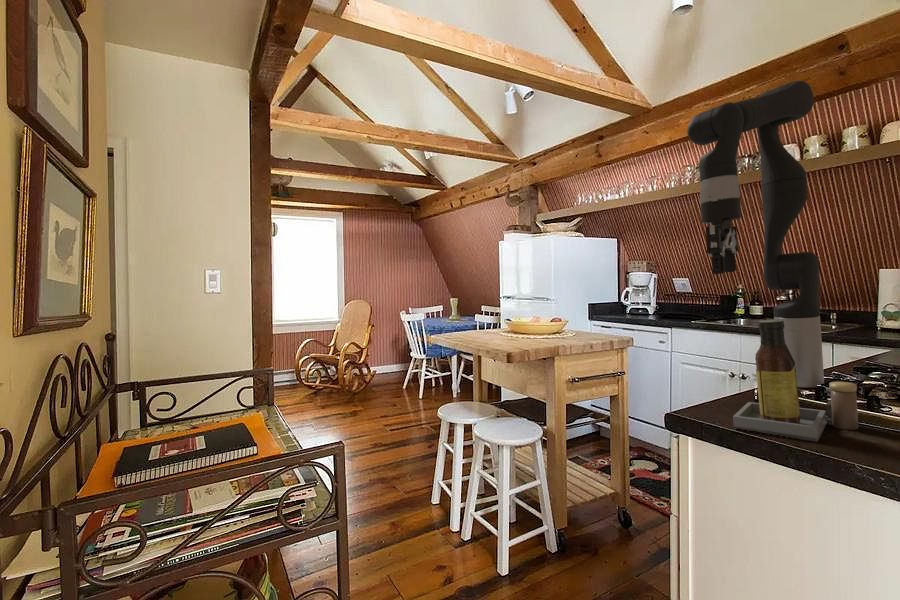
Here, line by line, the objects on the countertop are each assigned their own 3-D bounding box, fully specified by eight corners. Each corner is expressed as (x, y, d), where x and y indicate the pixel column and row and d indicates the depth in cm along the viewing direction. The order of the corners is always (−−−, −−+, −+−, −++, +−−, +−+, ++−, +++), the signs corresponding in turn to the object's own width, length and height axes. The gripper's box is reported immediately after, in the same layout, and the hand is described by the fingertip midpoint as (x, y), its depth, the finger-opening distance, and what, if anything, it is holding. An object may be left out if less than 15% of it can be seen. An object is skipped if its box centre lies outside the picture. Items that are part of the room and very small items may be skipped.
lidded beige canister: (833, 422, 85) (830, 380, 85) (860, 425, 82) (857, 382, 82) (830, 427, 82) (828, 385, 82) (858, 431, 80) (855, 387, 79)
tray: (748, 413, 94) (748, 401, 93) (826, 423, 84) (825, 410, 84) (733, 429, 86) (732, 416, 85) (817, 441, 76) (816, 427, 76)
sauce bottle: (809, 427, 82) (802, 320, 81) (776, 430, 82) (769, 323, 81) (782, 416, 88) (776, 318, 88) (751, 419, 88) (745, 320, 88)
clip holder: (766, 406, 97) (766, 392, 97) (845, 415, 88) (844, 400, 88) (761, 412, 94) (760, 398, 94) (843, 422, 84) (842, 406, 84)
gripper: (711, 205, 105) (715, 273, 105) (690, 200, 95) (695, 275, 96) (748, 198, 100) (752, 270, 100) (730, 193, 90) (735, 272, 90)
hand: (724, 272), depth 98 cm, fingers open, 8 cm apart
